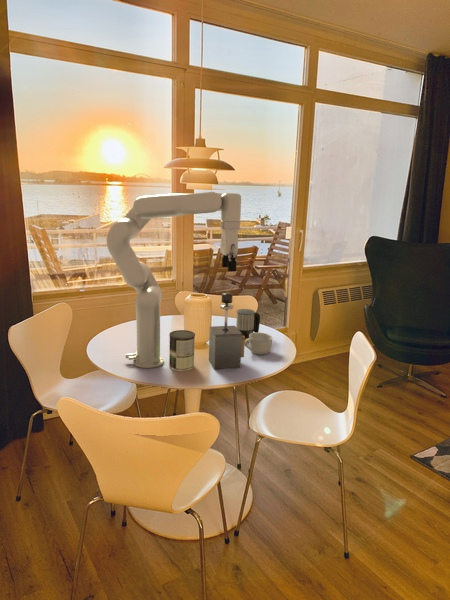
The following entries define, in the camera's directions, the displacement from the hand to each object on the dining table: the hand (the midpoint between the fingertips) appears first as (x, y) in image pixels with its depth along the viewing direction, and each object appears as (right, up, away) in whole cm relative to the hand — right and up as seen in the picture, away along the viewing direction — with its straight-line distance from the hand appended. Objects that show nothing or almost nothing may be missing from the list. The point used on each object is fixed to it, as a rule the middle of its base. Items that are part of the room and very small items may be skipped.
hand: (228, 269), depth 172 cm
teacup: (+13, -37, +24) cm, 46 cm away
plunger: (-1, -27, +7) cm, 28 cm away
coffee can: (-19, -40, +5) cm, 45 cm away
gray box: (-1, -39, +10) cm, 40 cm away
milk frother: (+6, -31, +45) cm, 55 cm away
